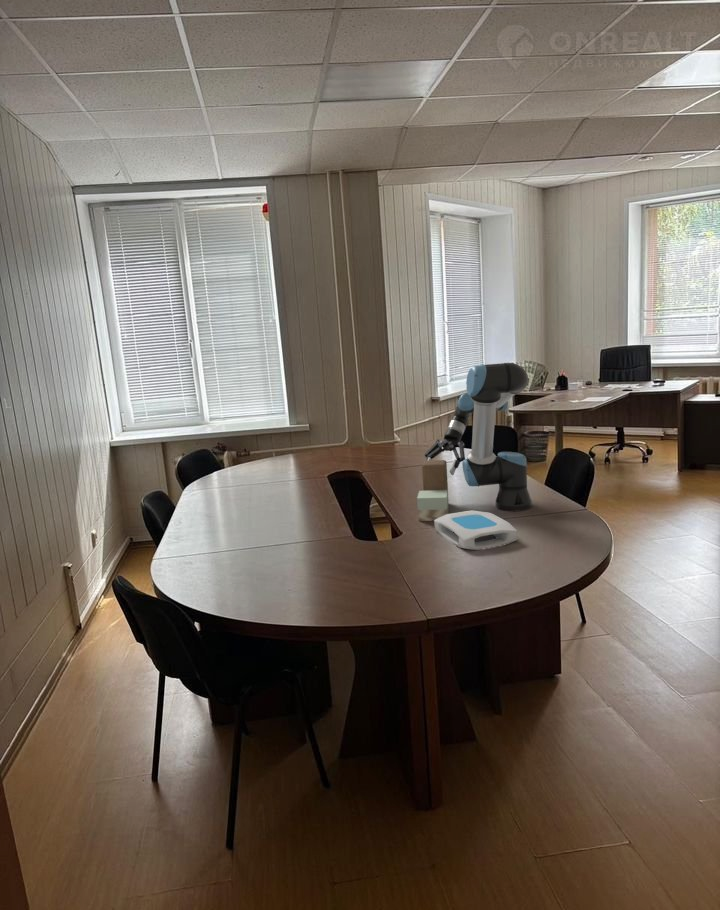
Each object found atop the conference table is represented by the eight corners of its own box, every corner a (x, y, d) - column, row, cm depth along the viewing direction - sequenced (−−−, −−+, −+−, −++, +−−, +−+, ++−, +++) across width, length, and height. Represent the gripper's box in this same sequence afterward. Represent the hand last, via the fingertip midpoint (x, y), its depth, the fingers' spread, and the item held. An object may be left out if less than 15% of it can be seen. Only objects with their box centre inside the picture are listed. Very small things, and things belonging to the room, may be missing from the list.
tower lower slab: (448, 512, 283) (448, 501, 282) (448, 520, 271) (447, 509, 270) (420, 513, 285) (419, 502, 284) (418, 521, 273) (418, 510, 272)
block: (447, 509, 286) (444, 464, 282) (424, 510, 288) (421, 465, 284) (448, 503, 296) (446, 459, 292) (426, 503, 298) (423, 460, 294)
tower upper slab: (448, 501, 282) (447, 489, 281) (447, 509, 270) (446, 497, 269) (419, 502, 284) (419, 490, 283) (417, 510, 272) (417, 498, 271)
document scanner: (464, 553, 233) (464, 536, 232) (434, 531, 259) (433, 515, 258) (518, 543, 238) (518, 527, 237) (483, 523, 265) (482, 508, 264)
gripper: (482, 438, 296) (466, 479, 288) (435, 436, 312) (418, 474, 304) (475, 429, 291) (459, 470, 283) (428, 426, 307) (411, 465, 299)
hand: (438, 472), depth 293 cm, fingers open, 13 cm apart
